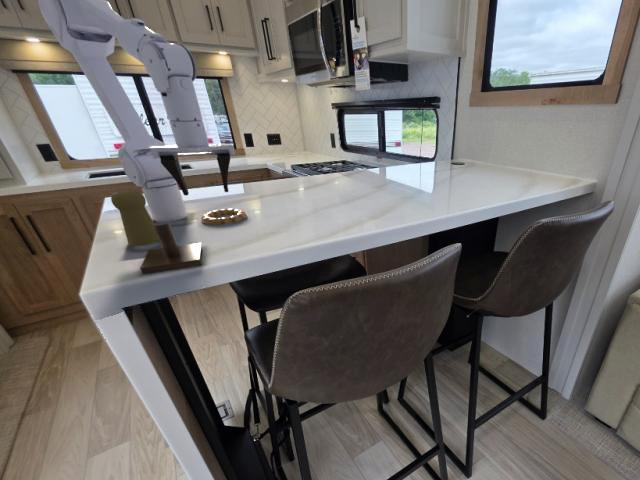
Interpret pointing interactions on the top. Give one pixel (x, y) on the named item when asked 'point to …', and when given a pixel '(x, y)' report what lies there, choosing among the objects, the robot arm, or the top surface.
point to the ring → (210, 219)
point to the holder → (170, 252)
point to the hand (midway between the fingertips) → (206, 192)
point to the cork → (135, 217)
